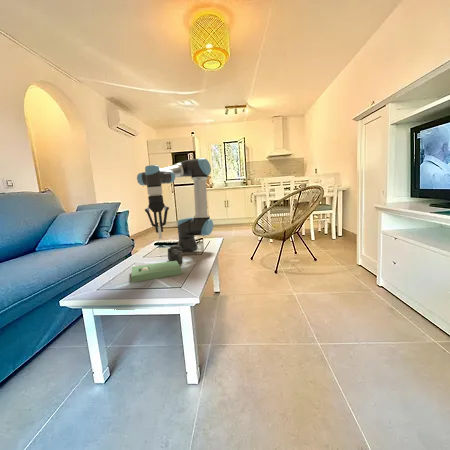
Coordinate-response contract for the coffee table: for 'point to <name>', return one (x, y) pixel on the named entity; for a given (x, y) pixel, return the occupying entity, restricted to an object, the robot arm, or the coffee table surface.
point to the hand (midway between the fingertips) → (160, 238)
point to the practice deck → (156, 271)
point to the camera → (175, 254)
